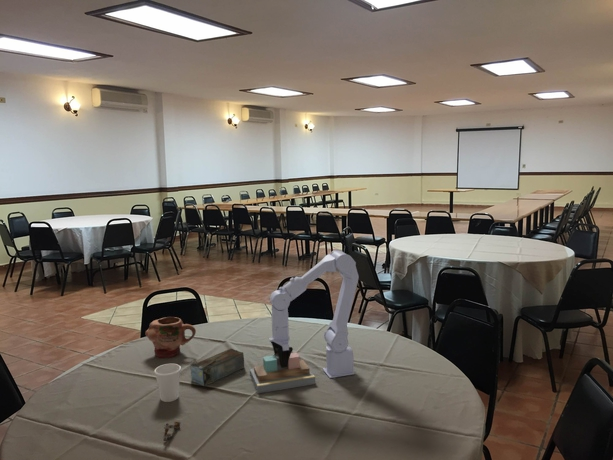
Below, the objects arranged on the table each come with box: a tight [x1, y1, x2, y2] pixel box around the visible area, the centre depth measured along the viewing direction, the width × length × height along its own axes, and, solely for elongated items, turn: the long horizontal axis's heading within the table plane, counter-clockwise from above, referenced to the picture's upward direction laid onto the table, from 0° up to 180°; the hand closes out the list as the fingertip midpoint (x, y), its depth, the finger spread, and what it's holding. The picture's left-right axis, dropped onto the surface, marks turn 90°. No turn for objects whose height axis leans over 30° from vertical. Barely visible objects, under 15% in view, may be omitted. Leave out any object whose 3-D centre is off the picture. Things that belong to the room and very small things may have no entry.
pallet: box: [253, 353, 311, 382], centre depth 170 cm, size 18×8×6 cm, turn 107°
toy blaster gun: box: [163, 421, 181, 442], centre depth 139 cm, size 2×8×4 cm, turn 169°
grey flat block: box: [249, 368, 316, 394], centre depth 171 cm, size 20×14×3 cm
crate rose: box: [288, 352, 301, 369], centre depth 171 cm, size 4×4×4 cm
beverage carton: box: [190, 348, 245, 387], centre depth 177 cm, size 8×19×7 cm, turn 139°
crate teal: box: [262, 354, 277, 372], centre depth 169 cm, size 4×4×4 cm
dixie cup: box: [154, 363, 182, 403], centre depth 160 cm, size 8×8×10 cm
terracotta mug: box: [144, 316, 197, 359], centre depth 196 cm, size 20×12×14 cm, turn 95°
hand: (281, 362), depth 170 cm, fingers open, 7 cm apart
